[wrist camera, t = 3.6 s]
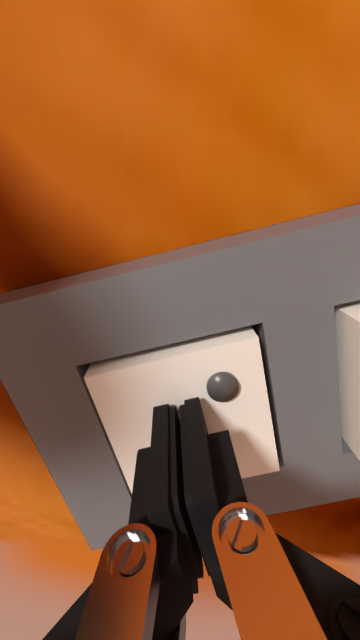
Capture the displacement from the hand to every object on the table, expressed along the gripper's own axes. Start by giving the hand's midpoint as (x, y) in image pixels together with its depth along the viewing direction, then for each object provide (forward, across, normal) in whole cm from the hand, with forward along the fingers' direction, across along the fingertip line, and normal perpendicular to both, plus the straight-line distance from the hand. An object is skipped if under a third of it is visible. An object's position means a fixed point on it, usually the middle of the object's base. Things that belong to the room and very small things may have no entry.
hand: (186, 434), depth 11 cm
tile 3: (+3, 0, 0) cm, 3 cm away
